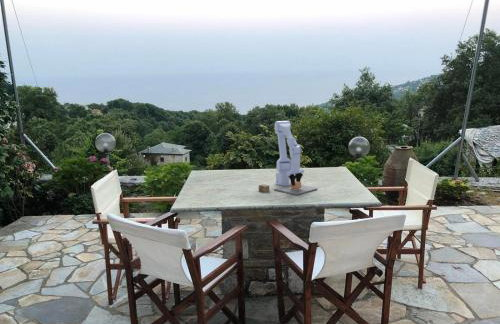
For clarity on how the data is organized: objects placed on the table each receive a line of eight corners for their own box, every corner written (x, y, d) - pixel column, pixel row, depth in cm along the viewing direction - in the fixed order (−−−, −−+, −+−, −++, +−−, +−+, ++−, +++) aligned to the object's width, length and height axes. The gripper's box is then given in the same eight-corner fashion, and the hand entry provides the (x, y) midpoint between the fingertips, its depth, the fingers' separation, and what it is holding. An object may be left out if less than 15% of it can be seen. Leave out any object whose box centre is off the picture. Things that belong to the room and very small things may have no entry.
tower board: (273, 190, 258) (273, 188, 258) (294, 185, 271) (294, 183, 270) (296, 195, 243) (296, 193, 243) (317, 189, 256) (317, 188, 255)
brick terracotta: (290, 187, 257) (290, 181, 257) (294, 186, 260) (294, 180, 259) (297, 189, 253) (297, 183, 252) (301, 188, 255) (301, 182, 255)
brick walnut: (258, 191, 257) (258, 185, 257) (263, 189, 260) (263, 184, 259) (264, 192, 253) (264, 186, 252) (269, 191, 255) (269, 185, 255)
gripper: (292, 166, 246) (292, 187, 249) (307, 163, 255) (307, 183, 258) (284, 165, 251) (284, 186, 254) (299, 162, 261) (299, 182, 263)
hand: (295, 184), depth 256 cm, fingers closed on brick terracotta, 4 cm apart
